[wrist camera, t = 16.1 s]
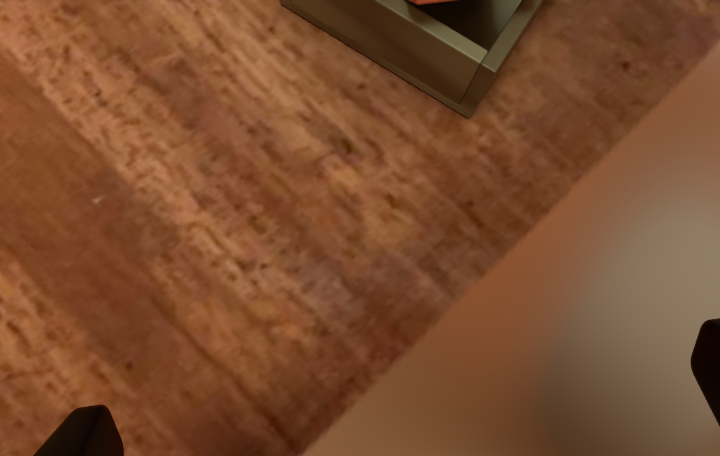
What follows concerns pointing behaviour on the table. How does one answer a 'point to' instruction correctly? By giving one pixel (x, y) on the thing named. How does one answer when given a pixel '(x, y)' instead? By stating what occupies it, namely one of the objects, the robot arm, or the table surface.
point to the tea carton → (428, 1)
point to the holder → (429, 39)
